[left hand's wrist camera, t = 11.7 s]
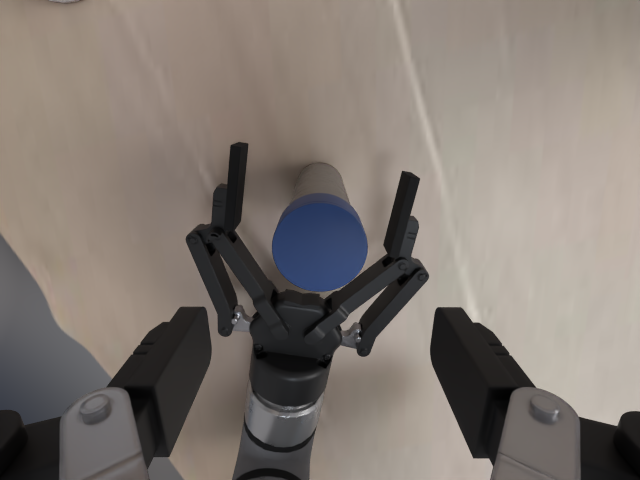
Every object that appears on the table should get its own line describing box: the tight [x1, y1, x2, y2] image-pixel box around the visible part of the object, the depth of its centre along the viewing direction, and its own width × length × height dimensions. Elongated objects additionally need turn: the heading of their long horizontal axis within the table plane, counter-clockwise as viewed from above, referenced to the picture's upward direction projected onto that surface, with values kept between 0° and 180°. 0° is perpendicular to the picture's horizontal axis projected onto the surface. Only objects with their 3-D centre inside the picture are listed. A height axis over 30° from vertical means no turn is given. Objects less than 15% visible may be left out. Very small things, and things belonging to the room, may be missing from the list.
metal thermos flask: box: [290, 163, 350, 204], centre depth 26 cm, size 4×4×16 cm
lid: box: [272, 193, 368, 292], centre depth 19 cm, size 5×5×2 cm
